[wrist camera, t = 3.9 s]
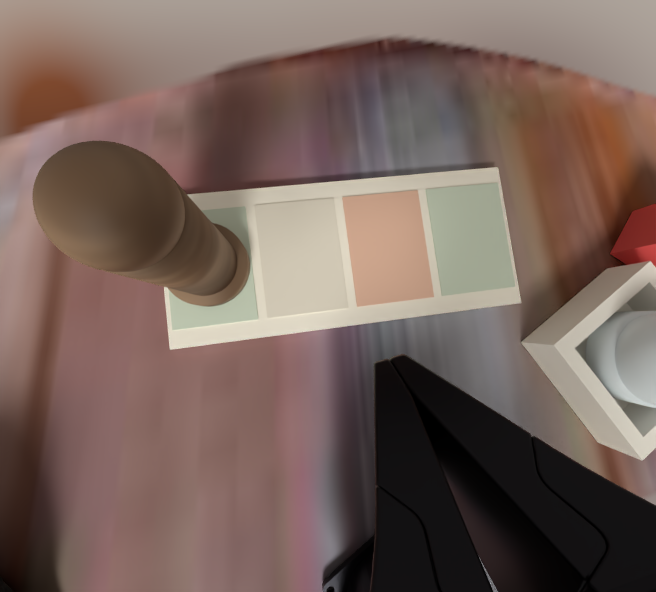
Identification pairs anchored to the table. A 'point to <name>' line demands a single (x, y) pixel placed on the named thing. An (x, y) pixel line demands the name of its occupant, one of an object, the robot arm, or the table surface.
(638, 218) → the red die
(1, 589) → the figurine
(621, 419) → the base
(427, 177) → the track board
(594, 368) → the dome
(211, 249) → the pawn
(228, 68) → the table surface
